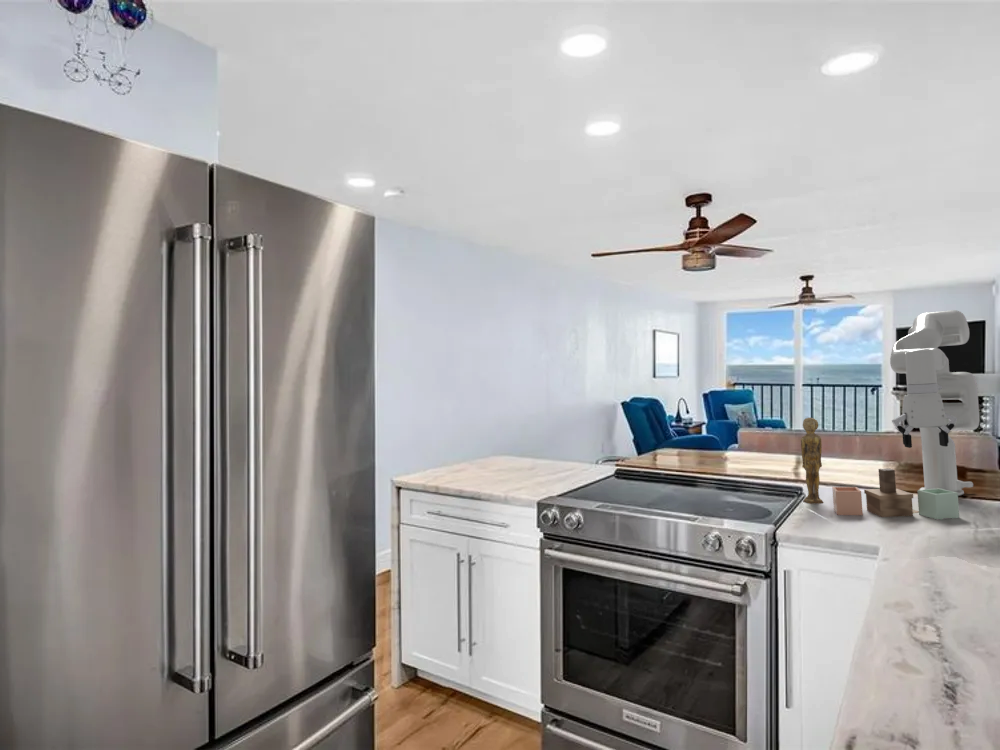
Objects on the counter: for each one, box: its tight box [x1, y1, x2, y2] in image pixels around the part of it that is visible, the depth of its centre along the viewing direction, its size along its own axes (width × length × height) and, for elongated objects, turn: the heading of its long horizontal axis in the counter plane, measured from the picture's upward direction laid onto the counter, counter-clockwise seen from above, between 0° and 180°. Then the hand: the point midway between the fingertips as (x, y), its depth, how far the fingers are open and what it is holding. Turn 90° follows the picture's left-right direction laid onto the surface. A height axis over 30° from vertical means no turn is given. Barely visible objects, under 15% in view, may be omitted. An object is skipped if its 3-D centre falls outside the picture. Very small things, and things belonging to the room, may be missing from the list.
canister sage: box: [916, 488, 960, 520], centre depth 183 cm, size 7×7×8 cm
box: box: [865, 494, 914, 518], centre depth 190 cm, size 9×9×6 cm
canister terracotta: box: [832, 486, 864, 516], centre depth 194 cm, size 7×7×8 cm
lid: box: [863, 468, 914, 500], centre depth 190 cm, size 10×10×8 cm
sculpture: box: [800, 417, 824, 505], centre depth 210 cm, size 7×6×30 cm
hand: (925, 446), depth 184 cm, fingers open, 9 cm apart
